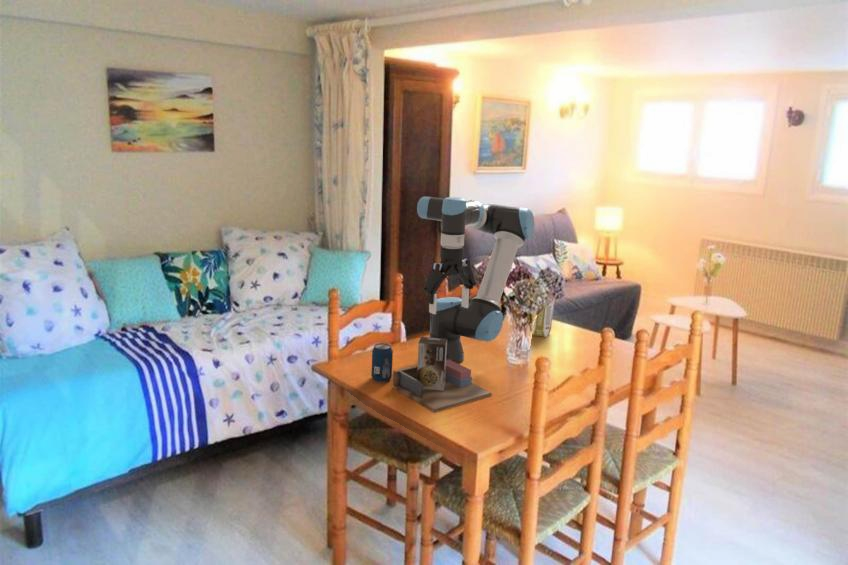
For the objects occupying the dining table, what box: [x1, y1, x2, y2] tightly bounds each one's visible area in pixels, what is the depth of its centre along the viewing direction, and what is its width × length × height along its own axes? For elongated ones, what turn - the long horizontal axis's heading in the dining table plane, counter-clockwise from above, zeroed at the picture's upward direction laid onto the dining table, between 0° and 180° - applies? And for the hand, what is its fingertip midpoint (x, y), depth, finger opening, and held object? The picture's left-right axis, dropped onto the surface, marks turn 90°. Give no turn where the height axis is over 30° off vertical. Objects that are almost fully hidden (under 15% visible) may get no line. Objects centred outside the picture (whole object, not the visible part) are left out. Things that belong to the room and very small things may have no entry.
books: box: [445, 360, 473, 387], centre depth 216 cm, size 12×5×5 cm, turn 38°
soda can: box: [371, 342, 394, 383], centre depth 215 cm, size 7×7×12 cm
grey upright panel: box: [398, 371, 423, 398], centre depth 204 cm, size 12×1×5 cm, turn 38°
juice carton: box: [532, 299, 555, 338], centre depth 272 cm, size 8×9×19 cm
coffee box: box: [417, 336, 447, 391], centre depth 208 cm, size 9×6×16 cm
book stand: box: [392, 358, 492, 413], centre depth 208 cm, size 22×24×6 cm
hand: (448, 310), depth 207 cm, fingers open, 13 cm apart
